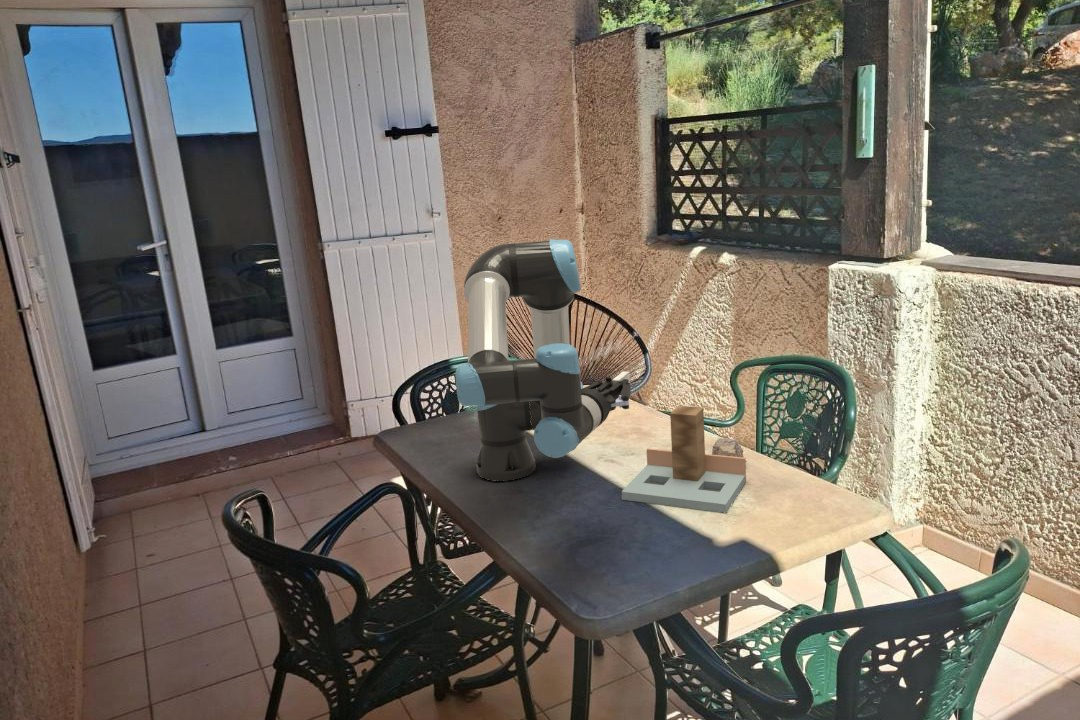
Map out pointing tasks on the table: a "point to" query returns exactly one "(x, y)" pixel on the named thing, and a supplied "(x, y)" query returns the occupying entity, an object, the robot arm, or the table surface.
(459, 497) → the table surface
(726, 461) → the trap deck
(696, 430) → the walnut block
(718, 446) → the mineral specimen
